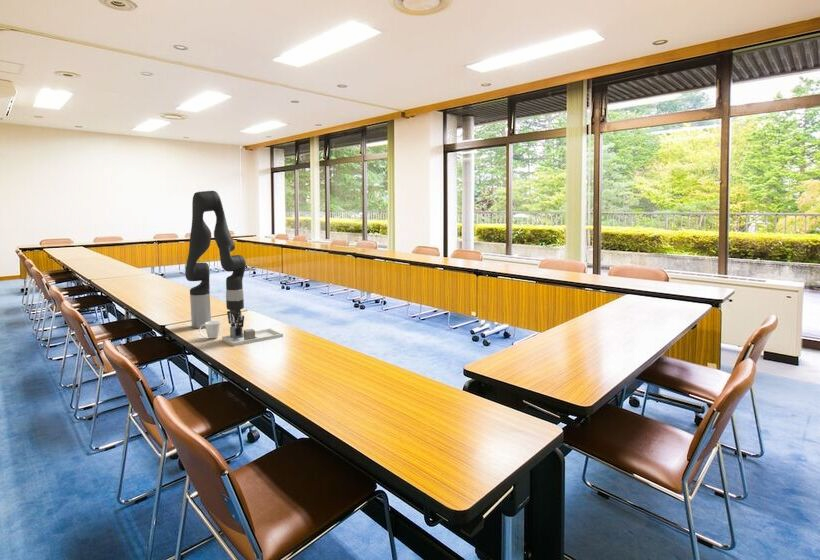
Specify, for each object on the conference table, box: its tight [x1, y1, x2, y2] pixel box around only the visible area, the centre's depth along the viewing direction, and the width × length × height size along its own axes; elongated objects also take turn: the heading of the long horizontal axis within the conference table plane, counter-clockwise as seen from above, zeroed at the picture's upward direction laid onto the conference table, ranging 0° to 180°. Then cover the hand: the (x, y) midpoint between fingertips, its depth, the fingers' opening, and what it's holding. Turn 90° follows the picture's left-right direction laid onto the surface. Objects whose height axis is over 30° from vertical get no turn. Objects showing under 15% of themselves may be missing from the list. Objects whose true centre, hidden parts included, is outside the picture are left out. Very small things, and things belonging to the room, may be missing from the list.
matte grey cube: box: [229, 326, 244, 339], centre depth 216 cm, size 4×4×5 cm
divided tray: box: [221, 328, 284, 347], centre depth 219 cm, size 13×24×2 cm, turn 133°
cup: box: [198, 320, 221, 339], centre depth 217 cm, size 7×10×8 cm
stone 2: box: [243, 328, 256, 341], centre depth 214 cm, size 4×4×5 cm
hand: (236, 334), depth 216 cm, fingers closed on matte grey cube, 4 cm apart
